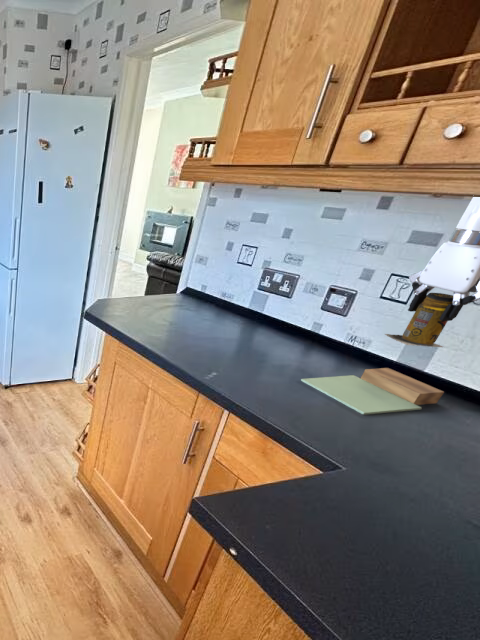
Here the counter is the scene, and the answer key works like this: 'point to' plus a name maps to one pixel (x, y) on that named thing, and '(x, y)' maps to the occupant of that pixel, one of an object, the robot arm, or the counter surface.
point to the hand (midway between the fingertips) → (429, 314)
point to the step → (402, 386)
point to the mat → (360, 395)
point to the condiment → (426, 322)
